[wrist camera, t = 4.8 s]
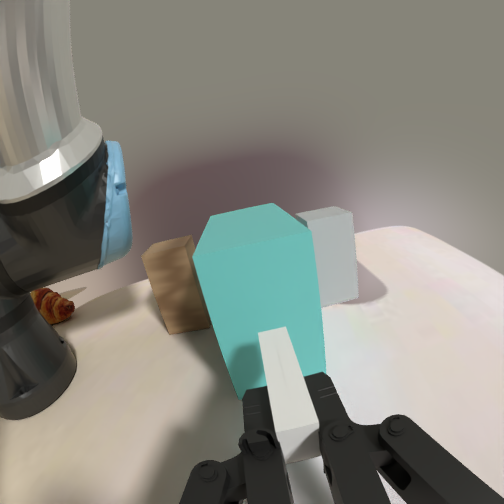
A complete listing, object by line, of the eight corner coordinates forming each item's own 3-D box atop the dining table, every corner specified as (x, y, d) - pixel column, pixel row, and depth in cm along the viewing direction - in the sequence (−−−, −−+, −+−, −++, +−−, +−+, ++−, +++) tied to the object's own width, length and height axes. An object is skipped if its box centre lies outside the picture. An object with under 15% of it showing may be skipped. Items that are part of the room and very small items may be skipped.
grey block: (318, 308, 30) (306, 221, 27) (307, 290, 34) (295, 213, 31) (358, 297, 30) (351, 212, 27) (343, 281, 34) (334, 206, 31)
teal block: (238, 400, 19) (192, 256, 15) (234, 311, 33) (210, 216, 30) (326, 380, 19) (311, 231, 16) (290, 299, 33) (272, 202, 30)
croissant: (20, 340, 40) (-4, 319, 34) (33, 304, 47) (12, 282, 41) (78, 340, 38) (48, 314, 32) (92, 294, 45) (67, 266, 39)
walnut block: (169, 334, 30) (141, 255, 27) (176, 314, 35) (153, 243, 32) (209, 327, 30) (184, 245, 27) (211, 307, 35) (191, 234, 32)
